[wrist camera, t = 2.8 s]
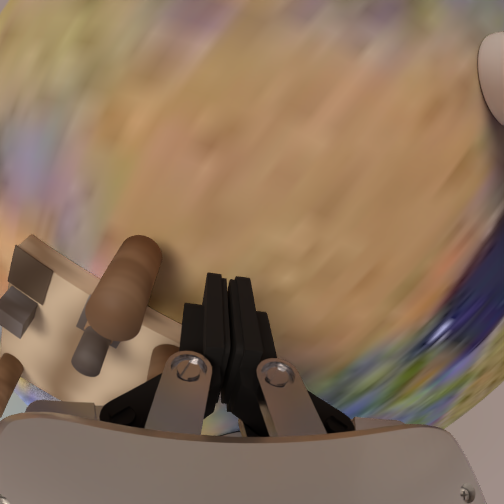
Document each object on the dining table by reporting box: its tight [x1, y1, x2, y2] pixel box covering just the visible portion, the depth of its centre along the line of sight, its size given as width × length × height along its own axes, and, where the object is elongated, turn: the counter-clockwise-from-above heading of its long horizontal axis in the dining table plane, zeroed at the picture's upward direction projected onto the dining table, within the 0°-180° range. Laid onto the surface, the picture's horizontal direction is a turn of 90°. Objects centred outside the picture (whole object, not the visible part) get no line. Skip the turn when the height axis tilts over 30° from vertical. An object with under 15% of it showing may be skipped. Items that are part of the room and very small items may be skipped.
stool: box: [0, 234, 182, 417], centre depth 18 cm, size 14×14×8 cm
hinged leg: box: [71, 235, 162, 377], centre depth 14 cm, size 8×2×6 cm, turn 143°
